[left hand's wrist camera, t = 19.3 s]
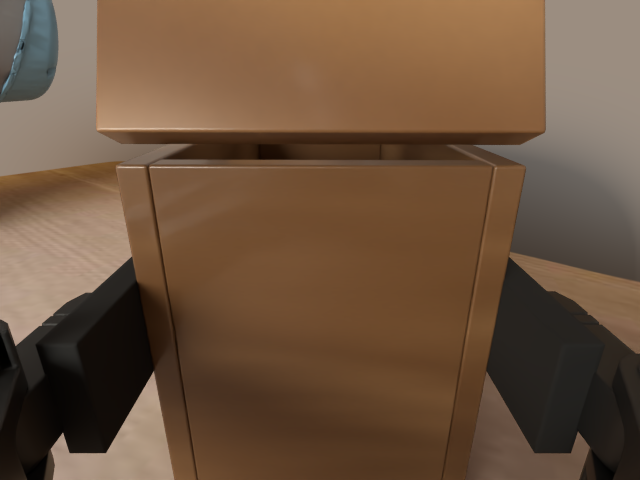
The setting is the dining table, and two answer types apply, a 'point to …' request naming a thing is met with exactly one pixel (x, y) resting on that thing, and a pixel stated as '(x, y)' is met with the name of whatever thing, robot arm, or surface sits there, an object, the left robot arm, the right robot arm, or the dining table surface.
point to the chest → (320, 303)
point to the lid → (321, 71)
